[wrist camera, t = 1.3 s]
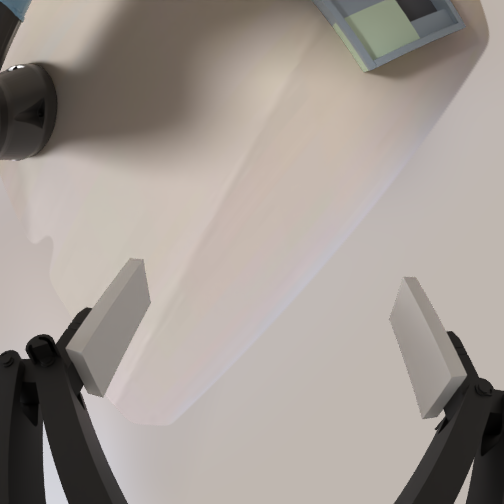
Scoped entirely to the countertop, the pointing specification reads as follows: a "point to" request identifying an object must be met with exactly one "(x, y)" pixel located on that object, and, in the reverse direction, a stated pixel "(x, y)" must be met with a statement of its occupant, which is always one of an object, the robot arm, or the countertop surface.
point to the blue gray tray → (388, 26)
